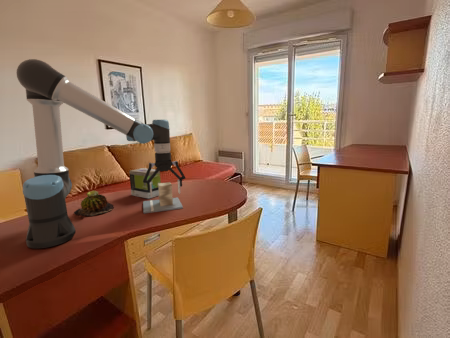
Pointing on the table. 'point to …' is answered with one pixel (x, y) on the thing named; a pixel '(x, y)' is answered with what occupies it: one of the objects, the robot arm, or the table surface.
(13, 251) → the table surface
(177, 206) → the board
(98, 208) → the cactus
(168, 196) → the beech block
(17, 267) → the table surface
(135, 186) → the tea box
